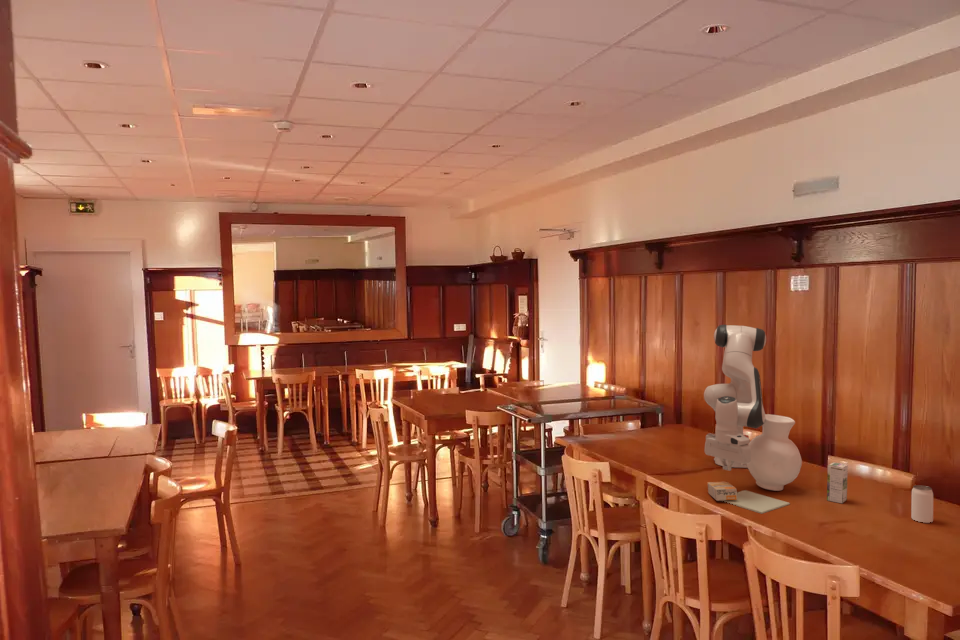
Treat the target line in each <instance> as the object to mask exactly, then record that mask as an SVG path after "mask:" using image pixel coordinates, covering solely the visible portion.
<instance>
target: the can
mask: <svg viewBox="0 0 960 640" xmlns="http://www.w3.org/2000/svg"><path fill="white" fill-rule="evenodd" d="M912 487H913V488H912V489H911V504H910V505H911V507H910V508H911V510H910V511H911V512H910V513H911V516H910V517H911V520H913V521H914V520H915V521H914V522H916V521H918V522H917V523H920V522H923V523H922V524H931V523H933V521H934V492H933V488H932V487H930V486H926V485H922V484H921V485H919V484H917V485H913V486H912ZM930 522H931V523H930Z"/></svg>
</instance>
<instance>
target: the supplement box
mask: <svg viewBox="0 0 960 640" xmlns="http://www.w3.org/2000/svg"><path fill="white" fill-rule="evenodd" d="M706 483H707V493H708V495H710V496H711V497H712V498H713V499H714V500H716V501H717V502H723V501H724V500H737V492H738V491H737V488H736V487H735V486H733V484H731V483H730V482H728V481H727V480H726V481H713V482H712V481H707V482H706Z"/></svg>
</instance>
